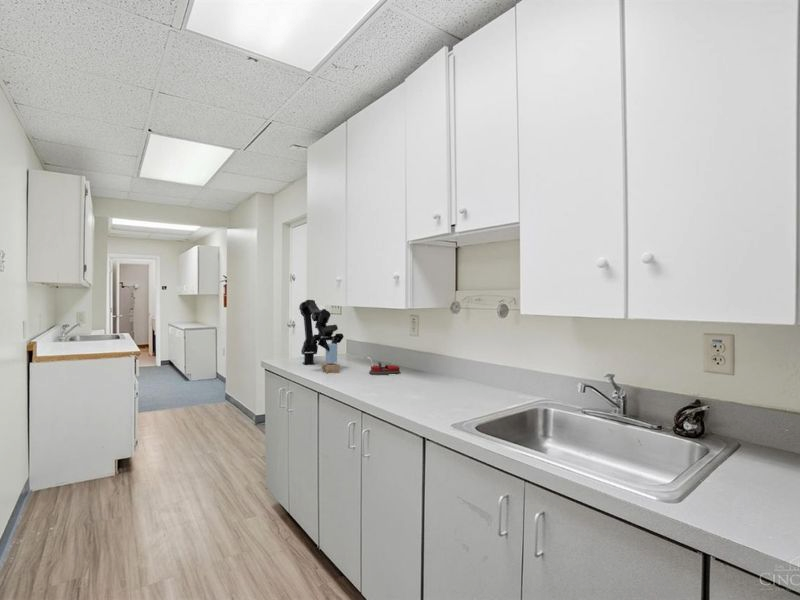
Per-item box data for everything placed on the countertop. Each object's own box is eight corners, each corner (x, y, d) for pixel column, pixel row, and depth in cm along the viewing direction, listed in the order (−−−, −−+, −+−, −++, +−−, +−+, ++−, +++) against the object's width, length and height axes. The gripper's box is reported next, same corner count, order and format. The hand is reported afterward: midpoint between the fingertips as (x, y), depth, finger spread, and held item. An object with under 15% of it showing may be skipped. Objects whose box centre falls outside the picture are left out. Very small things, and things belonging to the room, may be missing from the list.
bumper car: (402, 375, 234) (402, 357, 234) (367, 376, 228) (367, 357, 228) (397, 372, 244) (397, 354, 244) (363, 373, 238) (363, 355, 238)
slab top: (321, 368, 236) (322, 364, 236) (332, 367, 240) (332, 362, 240) (328, 370, 231) (328, 365, 231) (339, 369, 235) (339, 364, 235)
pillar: (325, 361, 236) (326, 343, 236) (332, 361, 239) (333, 343, 239) (330, 362, 232) (330, 344, 232) (336, 362, 235) (337, 344, 235)
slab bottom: (323, 372, 237) (323, 368, 237) (335, 371, 240) (335, 367, 240) (326, 374, 231) (326, 370, 231) (338, 374, 234) (338, 369, 234)
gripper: (313, 320, 232) (324, 342, 224) (342, 319, 244) (352, 340, 236) (306, 333, 238) (316, 355, 230) (334, 331, 250) (344, 352, 242)
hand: (332, 350), depth 234 cm, fingers closed on pillar, 4 cm apart
